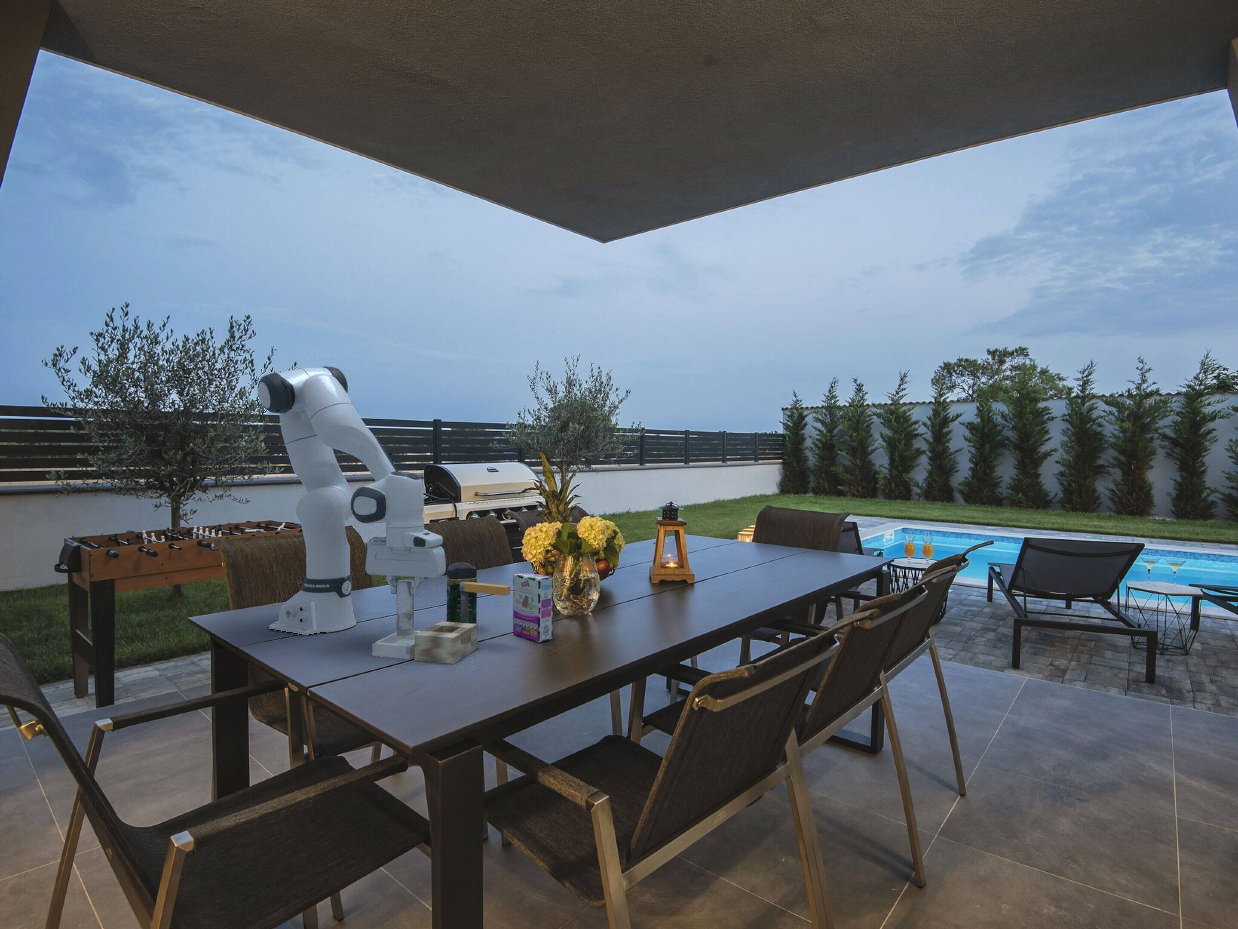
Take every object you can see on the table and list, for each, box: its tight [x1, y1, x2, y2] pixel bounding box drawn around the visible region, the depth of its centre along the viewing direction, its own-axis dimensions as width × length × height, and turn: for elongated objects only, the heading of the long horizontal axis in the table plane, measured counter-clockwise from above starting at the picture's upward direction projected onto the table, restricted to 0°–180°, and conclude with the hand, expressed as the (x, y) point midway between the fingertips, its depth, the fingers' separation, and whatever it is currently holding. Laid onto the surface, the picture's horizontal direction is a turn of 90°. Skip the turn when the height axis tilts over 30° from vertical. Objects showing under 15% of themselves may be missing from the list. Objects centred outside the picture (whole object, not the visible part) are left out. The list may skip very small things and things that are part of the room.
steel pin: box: [396, 578, 415, 636], centre depth 150 cm, size 4×4×13 cm
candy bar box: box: [512, 572, 554, 644], centre depth 161 cm, size 11×5×16 cm, turn 47°
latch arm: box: [460, 582, 511, 597], centre depth 153 cm, size 2×14×2 cm, turn 67°
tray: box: [371, 630, 422, 660], centre depth 150 cm, size 10×12×3 cm
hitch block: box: [414, 591, 478, 665], centre depth 149 cm, size 10×17×13 cm, turn 167°
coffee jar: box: [446, 561, 478, 625], centre depth 167 cm, size 10×8×19 cm
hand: (405, 594), depth 150 cm, fingers closed on steel pin, 4 cm apart
